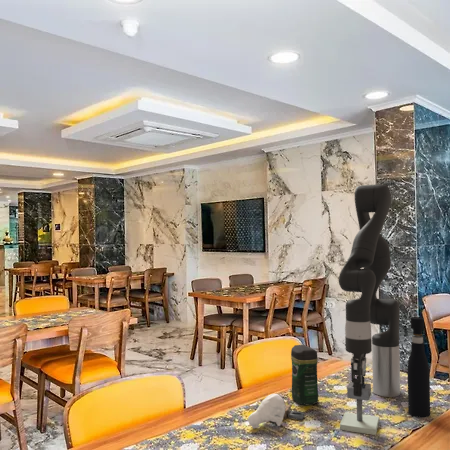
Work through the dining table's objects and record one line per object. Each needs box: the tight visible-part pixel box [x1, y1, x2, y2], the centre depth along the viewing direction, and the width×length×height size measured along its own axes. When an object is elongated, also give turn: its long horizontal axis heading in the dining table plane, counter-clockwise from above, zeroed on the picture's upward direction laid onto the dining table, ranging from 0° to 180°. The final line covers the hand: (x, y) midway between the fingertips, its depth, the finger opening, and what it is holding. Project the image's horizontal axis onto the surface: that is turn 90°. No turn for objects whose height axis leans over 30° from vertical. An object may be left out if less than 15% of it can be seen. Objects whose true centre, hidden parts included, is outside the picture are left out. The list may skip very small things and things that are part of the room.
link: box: [346, 381, 372, 401], centre depth 138 cm, size 6×6×3 cm
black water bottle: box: [406, 316, 431, 419], centre depth 146 cm, size 6×6×30 cm
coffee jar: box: [290, 344, 319, 406], centre depth 159 cm, size 10×8×19 cm
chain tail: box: [283, 404, 306, 421], centre depth 145 cm, size 5×8×2 cm, turn 66°
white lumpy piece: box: [247, 393, 286, 430], centre depth 139 cm, size 6×8×12 cm
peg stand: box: [339, 399, 380, 436], centre depth 138 cm, size 10×10×8 cm
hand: (359, 392), depth 138 cm, fingers closed on link, 6 cm apart
